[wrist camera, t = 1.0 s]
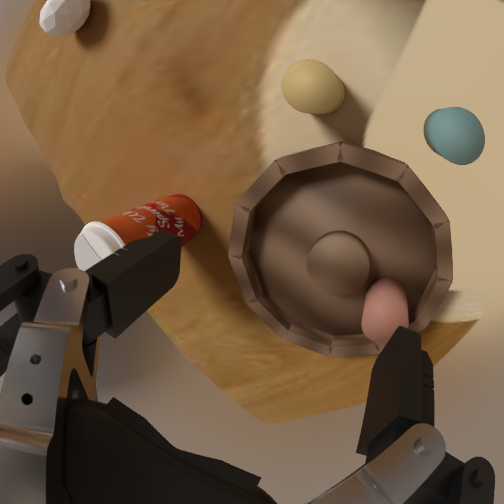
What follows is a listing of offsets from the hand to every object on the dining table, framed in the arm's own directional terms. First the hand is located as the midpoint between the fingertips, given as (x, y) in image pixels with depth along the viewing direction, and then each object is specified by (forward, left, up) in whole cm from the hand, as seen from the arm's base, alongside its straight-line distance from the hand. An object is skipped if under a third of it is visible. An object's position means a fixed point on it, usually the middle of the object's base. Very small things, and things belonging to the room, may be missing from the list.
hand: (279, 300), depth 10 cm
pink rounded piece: (+10, +8, -19) cm, 23 cm away
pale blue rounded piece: (-7, +8, -21) cm, 23 cm away
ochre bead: (-7, -4, -21) cm, 22 cm away
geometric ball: (-17, -40, -21) cm, 48 cm away
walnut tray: (+8, +2, -20) cm, 22 cm away
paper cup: (+10, -17, -21) cm, 29 cm away
